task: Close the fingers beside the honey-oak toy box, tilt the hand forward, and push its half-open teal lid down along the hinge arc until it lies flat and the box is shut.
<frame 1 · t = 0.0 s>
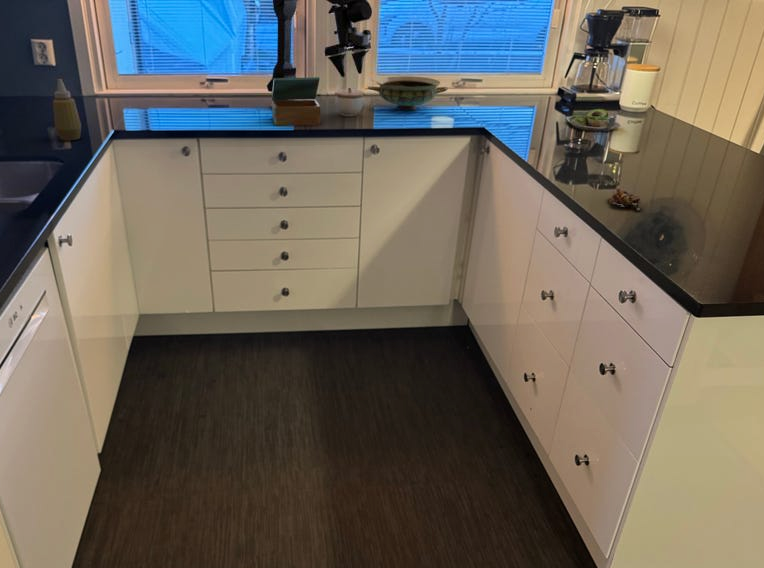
hand: (351, 75, 237), 15 cm above the counter, tool pointing down, fingers open, 9 cm apart
lid: (295, 88, 240), point 11 cm above the counter, hinge at 40.0°
squeeze bottle: (70, 139, 221), on the counter
trinket box: (349, 115, 255), on the counter
pastry: (622, 203, 172), on the counter
salad plate: (592, 126, 243), on the counter
ceramic bowl: (406, 108, 265), on the counter
toy box: (295, 121, 245), on the counter
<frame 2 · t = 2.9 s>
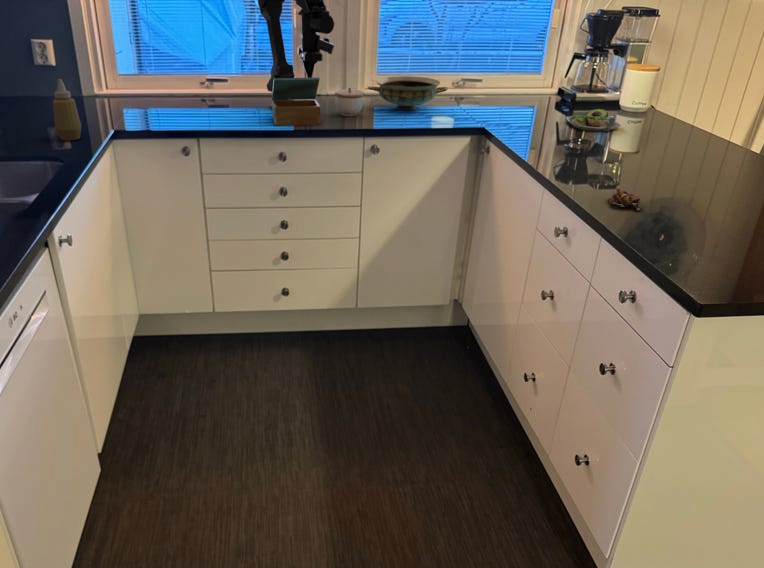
hand: (309, 79, 244), 13 cm above the counter, tool pointing down, fingers closed
nothing on the counter moved.
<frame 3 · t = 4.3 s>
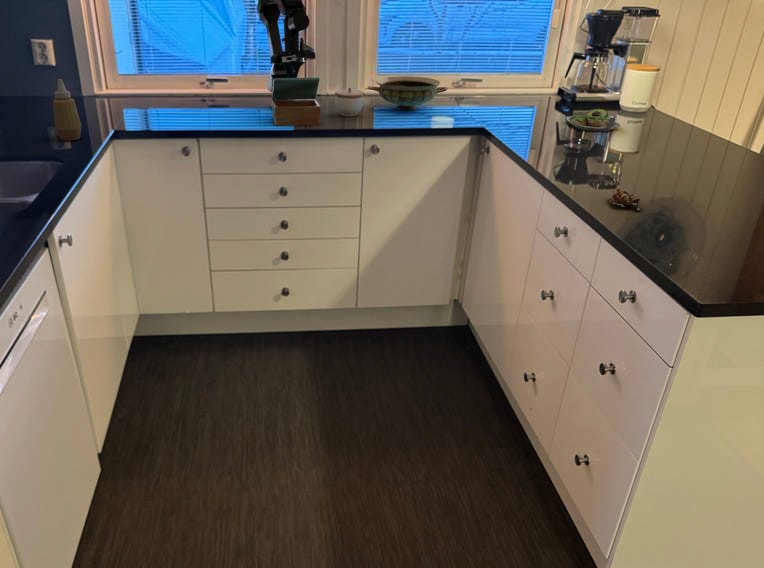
hand: (293, 83, 242), 12 cm above the counter, tool pointing down, fingers closed
nothing on the counter moved.
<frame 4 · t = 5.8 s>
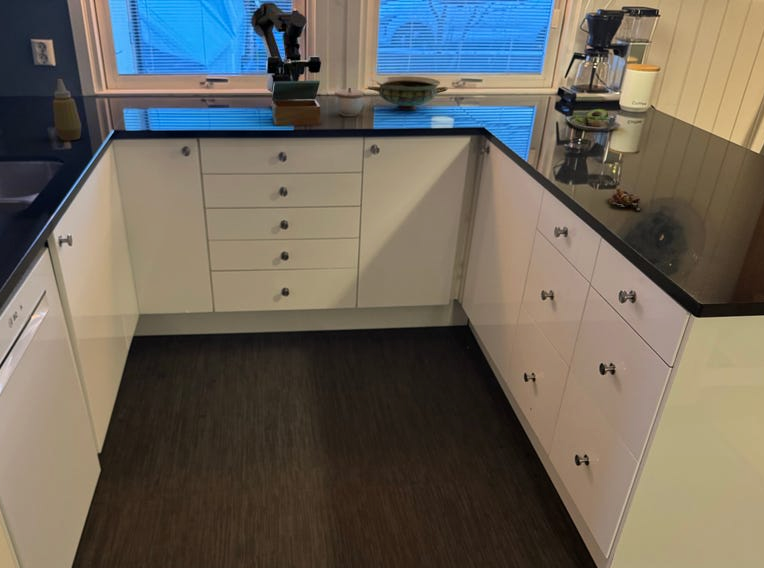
hand: (295, 86, 237), 12 cm above the counter, tool tilted 45°, fingers closed, pressing on lid
lid: (295, 90, 240), point 10 cm above the counter, hinge at 34.7°, touching gripper
everything else where it was.
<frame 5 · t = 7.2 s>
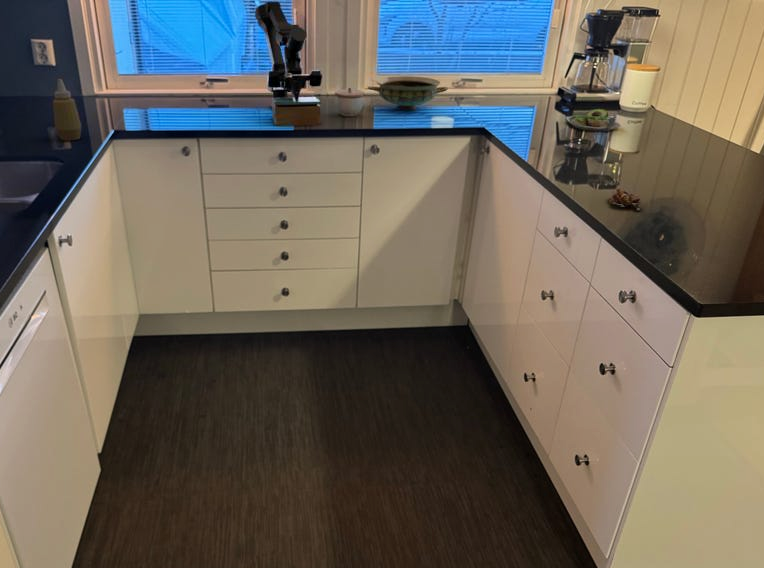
hand: (297, 100, 237), 8 cm above the counter, tool tilted 45°, fingers closed, pressing on lid
lid: (295, 100, 241), point 7 cm above the counter, hinge at 3.8°, touching gripper
everything else where it was.
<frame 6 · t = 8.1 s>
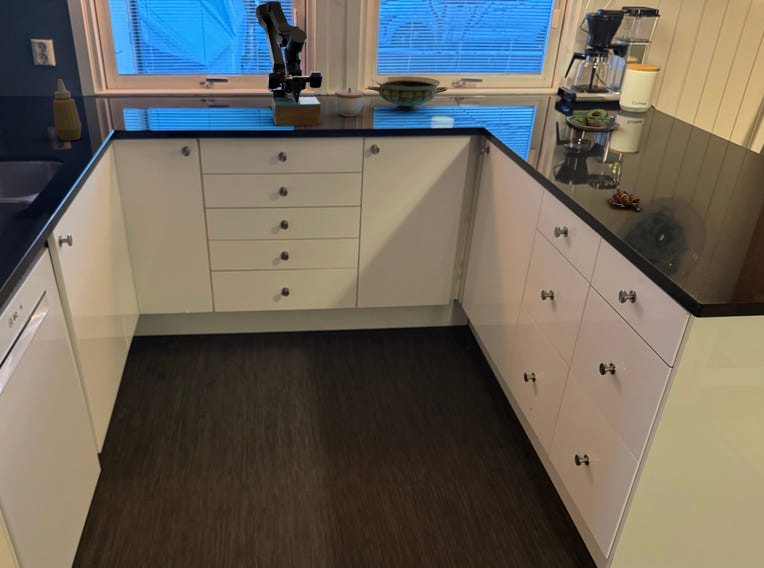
hand: (297, 101, 237), 7 cm above the counter, tool tilted 45°, fingers closed
lid: (295, 101, 241), point 7 cm above the counter, hinge at 0.5°
everything else where it was.
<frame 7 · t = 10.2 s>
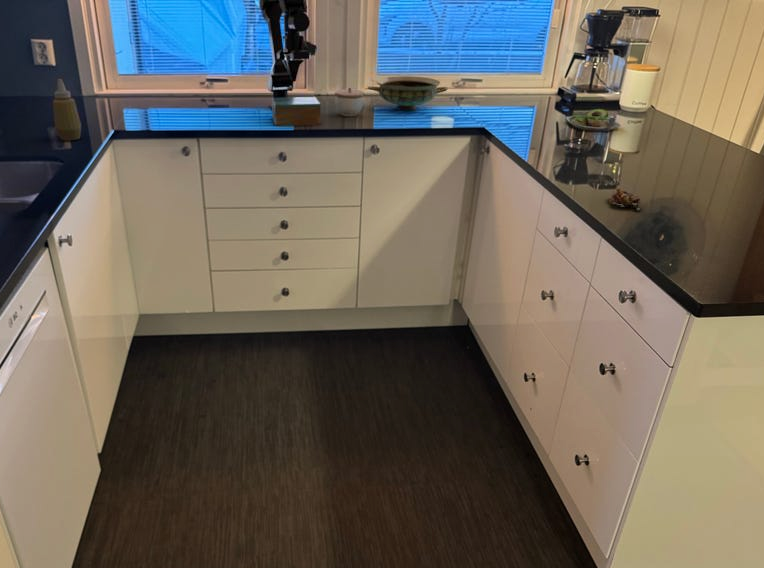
hand: (293, 81, 242), 13 cm above the counter, tool pointing down, fingers closed
nothing on the counter moved.
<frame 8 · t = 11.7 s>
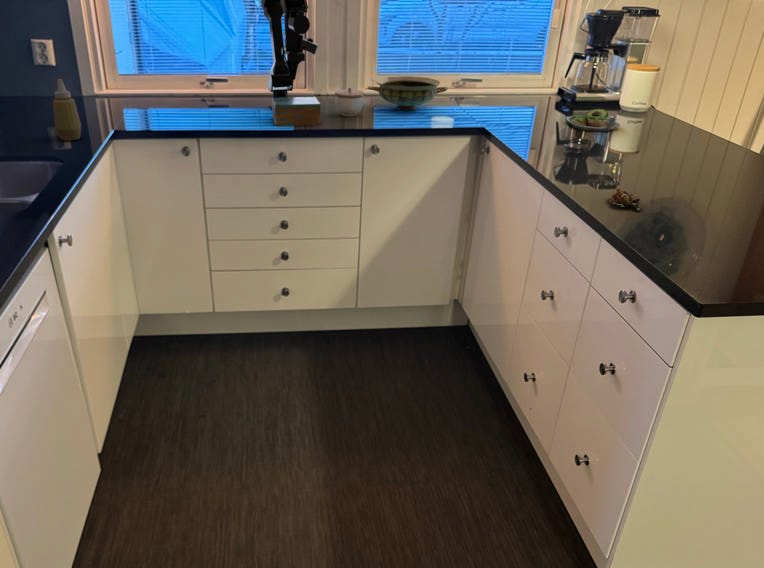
hand: (293, 79, 243), 13 cm above the counter, tool pointing down, fingers closed
nothing on the counter moved.
at the end: lid at +0° (first picture: +40°); trinket box moved 0.2 cm from its start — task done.
